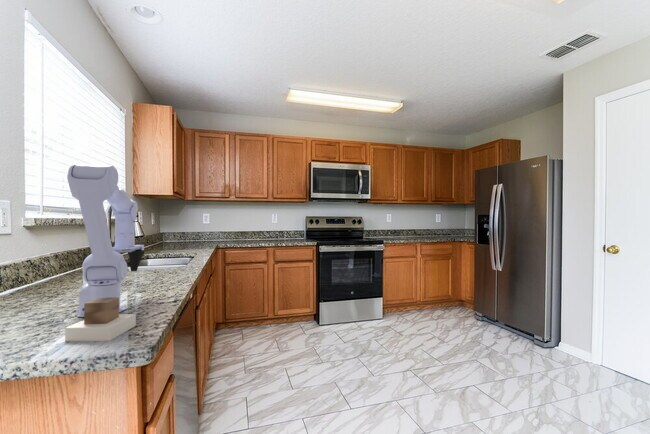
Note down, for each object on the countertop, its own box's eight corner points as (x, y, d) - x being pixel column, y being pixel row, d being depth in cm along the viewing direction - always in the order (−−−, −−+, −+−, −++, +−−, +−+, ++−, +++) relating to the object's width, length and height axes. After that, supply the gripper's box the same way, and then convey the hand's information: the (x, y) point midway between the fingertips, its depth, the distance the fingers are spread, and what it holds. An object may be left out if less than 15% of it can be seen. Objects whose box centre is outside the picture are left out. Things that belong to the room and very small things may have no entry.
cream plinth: (65, 343, 69) (65, 327, 69) (96, 327, 79) (97, 314, 79) (109, 342, 69) (109, 327, 69) (135, 327, 79) (135, 314, 79)
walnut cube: (84, 324, 72) (84, 303, 72) (97, 317, 77) (98, 297, 77) (106, 323, 72) (106, 302, 72) (118, 317, 77) (119, 297, 77)
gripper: (115, 234, 97) (114, 277, 97) (151, 233, 111) (150, 270, 111) (97, 234, 99) (97, 276, 99) (135, 232, 113) (135, 269, 113)
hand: (124, 272), depth 105 cm, fingers open, 7 cm apart
